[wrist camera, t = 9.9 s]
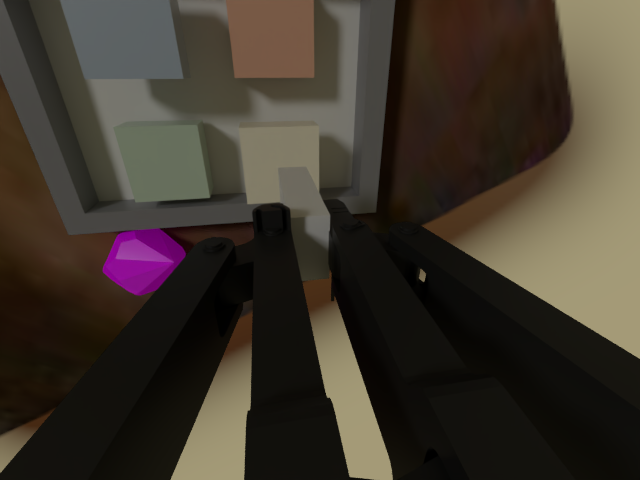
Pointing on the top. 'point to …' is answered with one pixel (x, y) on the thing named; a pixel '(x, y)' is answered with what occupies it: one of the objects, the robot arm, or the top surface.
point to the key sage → (165, 159)
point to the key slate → (128, 38)
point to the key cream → (276, 155)
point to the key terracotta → (272, 38)
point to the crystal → (142, 260)
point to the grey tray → (195, 111)
